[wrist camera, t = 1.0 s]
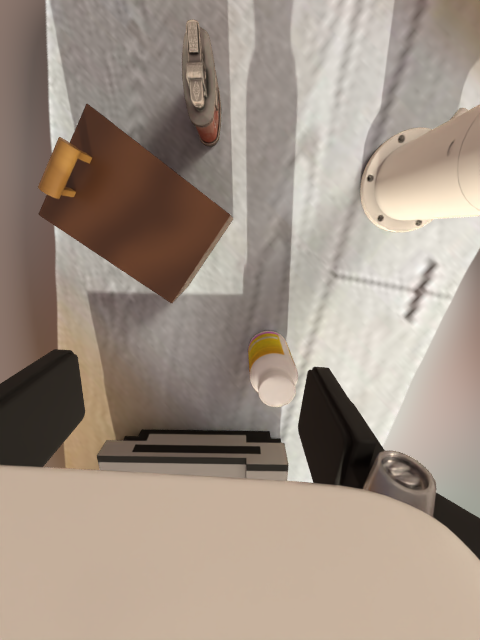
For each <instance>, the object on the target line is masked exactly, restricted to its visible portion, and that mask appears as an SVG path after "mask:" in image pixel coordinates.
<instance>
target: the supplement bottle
mask: <svg viewBox="0 0 480 640" xmlns="http://www.w3.org/2000/svg"><path fill="white" fill-rule="evenodd" d="M248 354H249V372H250V381H251V384H252V386H253V388H254V389H255V390H256V391H257V392H258V394H259V397H260V399H261V400H262V402H264V403H265V404H266V405H268V406H272V407H281V406H284V405H286V404H288V403H289V402H290V401H291V400H292V399H293V398H294V396H295V385H296V383H297V379H298V372H297V368H296V366H295V363H294V361H293V358H292V356H291V353H290V350H289V348H288V345H287V343H286V341H285V339H284V338H283V336H281V335H280V334H279V333H277V332H274V331H263V332H260V333H258V334H256V335H255V336H254V337H253V338H252V339H251V341H250V343H249V347H248Z"/></svg>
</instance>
